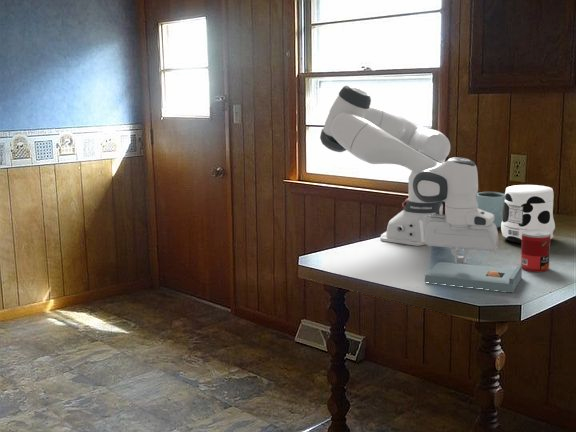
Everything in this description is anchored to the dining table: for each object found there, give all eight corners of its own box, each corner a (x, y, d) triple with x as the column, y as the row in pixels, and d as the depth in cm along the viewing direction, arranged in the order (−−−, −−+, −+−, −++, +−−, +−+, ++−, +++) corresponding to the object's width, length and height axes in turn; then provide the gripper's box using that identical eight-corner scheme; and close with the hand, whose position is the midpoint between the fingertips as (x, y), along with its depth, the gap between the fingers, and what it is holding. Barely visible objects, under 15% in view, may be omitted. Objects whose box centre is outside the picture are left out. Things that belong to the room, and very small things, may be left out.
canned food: (545, 273, 199) (547, 236, 197) (517, 270, 203) (518, 234, 201) (551, 266, 206) (553, 230, 203) (524, 263, 210) (525, 228, 207)
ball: (487, 271, 191) (499, 275, 190) (489, 267, 194) (502, 271, 193) (484, 282, 192) (497, 286, 191) (487, 279, 195) (499, 282, 194)
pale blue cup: (474, 222, 264) (475, 191, 261) (502, 222, 262) (502, 191, 260) (478, 228, 254) (478, 196, 251) (506, 228, 252) (507, 196, 250)
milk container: (550, 234, 242) (552, 184, 238) (557, 247, 225) (560, 193, 221) (499, 233, 245) (500, 184, 242) (502, 246, 229) (504, 193, 225)
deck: (425, 283, 195) (425, 269, 194) (438, 269, 207) (438, 256, 206) (512, 293, 184) (513, 278, 183) (521, 278, 196) (522, 264, 195)
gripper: (421, 215, 195) (421, 262, 198) (495, 220, 186) (494, 269, 189) (428, 211, 201) (428, 256, 204) (500, 215, 191) (499, 263, 194)
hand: (460, 262), depth 196 cm, fingers closed
